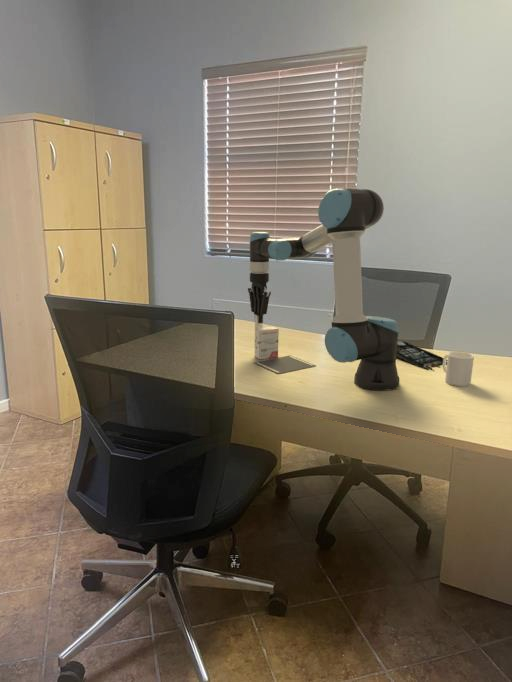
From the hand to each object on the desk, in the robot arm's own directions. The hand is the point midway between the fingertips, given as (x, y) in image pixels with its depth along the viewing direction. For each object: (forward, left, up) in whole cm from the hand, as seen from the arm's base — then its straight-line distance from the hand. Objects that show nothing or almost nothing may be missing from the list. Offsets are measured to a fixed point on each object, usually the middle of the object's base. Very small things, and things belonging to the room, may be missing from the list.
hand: (258, 330), depth 211 cm
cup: (-65, -39, -10) cm, 76 cm away
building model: (-40, -49, -11) cm, 64 cm away
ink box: (-6, 0, -10) cm, 11 cm away
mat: (-18, 0, -10) cm, 20 cm away
